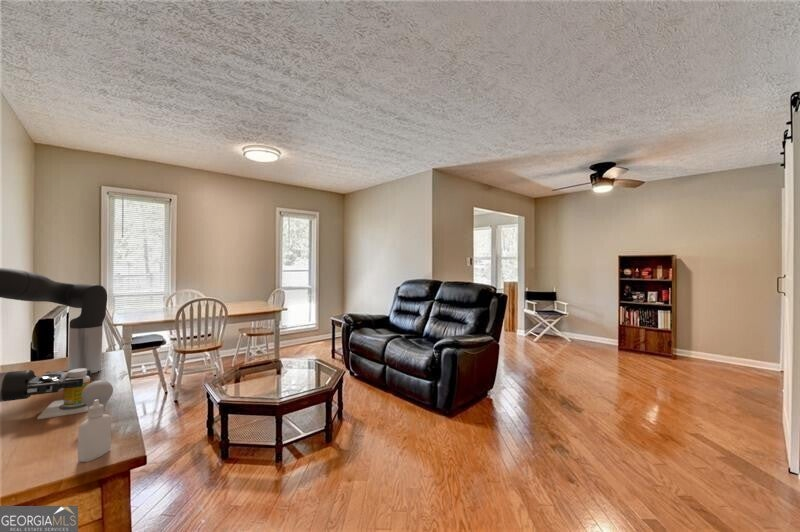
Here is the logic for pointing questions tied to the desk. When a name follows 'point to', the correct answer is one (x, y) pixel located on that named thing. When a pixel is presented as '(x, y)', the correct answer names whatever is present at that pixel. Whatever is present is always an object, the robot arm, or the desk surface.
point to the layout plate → (61, 410)
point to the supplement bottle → (75, 388)
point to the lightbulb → (97, 393)
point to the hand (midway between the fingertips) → (87, 377)
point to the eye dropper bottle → (94, 434)
